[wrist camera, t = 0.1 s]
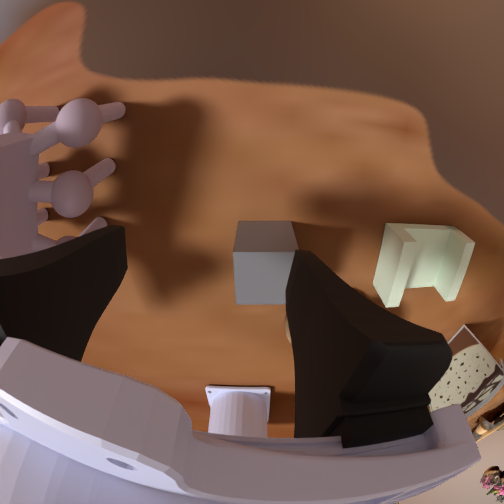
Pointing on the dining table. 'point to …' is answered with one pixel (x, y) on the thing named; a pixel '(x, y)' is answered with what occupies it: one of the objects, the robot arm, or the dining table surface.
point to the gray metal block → (263, 261)
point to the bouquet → (493, 473)
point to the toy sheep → (46, 170)
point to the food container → (468, 375)
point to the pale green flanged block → (421, 260)
